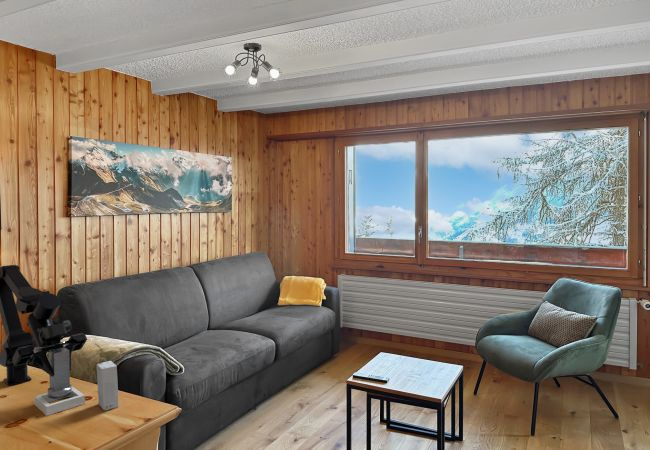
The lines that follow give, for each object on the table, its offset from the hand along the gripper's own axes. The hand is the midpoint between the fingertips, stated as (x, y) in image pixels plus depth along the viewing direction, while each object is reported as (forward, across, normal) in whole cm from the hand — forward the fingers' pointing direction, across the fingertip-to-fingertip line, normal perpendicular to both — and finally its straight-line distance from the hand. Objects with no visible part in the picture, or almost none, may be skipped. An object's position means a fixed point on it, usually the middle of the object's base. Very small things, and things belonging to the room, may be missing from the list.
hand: (61, 373), depth 132 cm
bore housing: (+6, 0, +8) cm, 10 cm away
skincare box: (+14, +8, -1) cm, 16 cm away
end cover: (+4, 0, +6) cm, 7 cm away
